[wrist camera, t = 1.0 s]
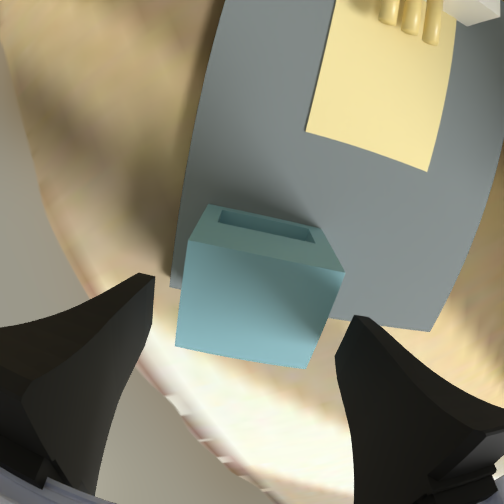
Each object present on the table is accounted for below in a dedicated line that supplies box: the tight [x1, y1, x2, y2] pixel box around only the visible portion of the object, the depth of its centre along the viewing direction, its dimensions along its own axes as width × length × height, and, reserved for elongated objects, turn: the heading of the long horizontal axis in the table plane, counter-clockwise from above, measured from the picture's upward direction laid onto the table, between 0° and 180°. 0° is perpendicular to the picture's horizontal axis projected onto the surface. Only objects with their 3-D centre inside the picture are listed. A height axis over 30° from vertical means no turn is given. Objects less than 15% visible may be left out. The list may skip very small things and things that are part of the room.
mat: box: [170, 0, 504, 332], centre depth 13 cm, size 16×22×1 cm
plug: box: [175, 204, 345, 369], centre depth 13 cm, size 5×5×5 cm
